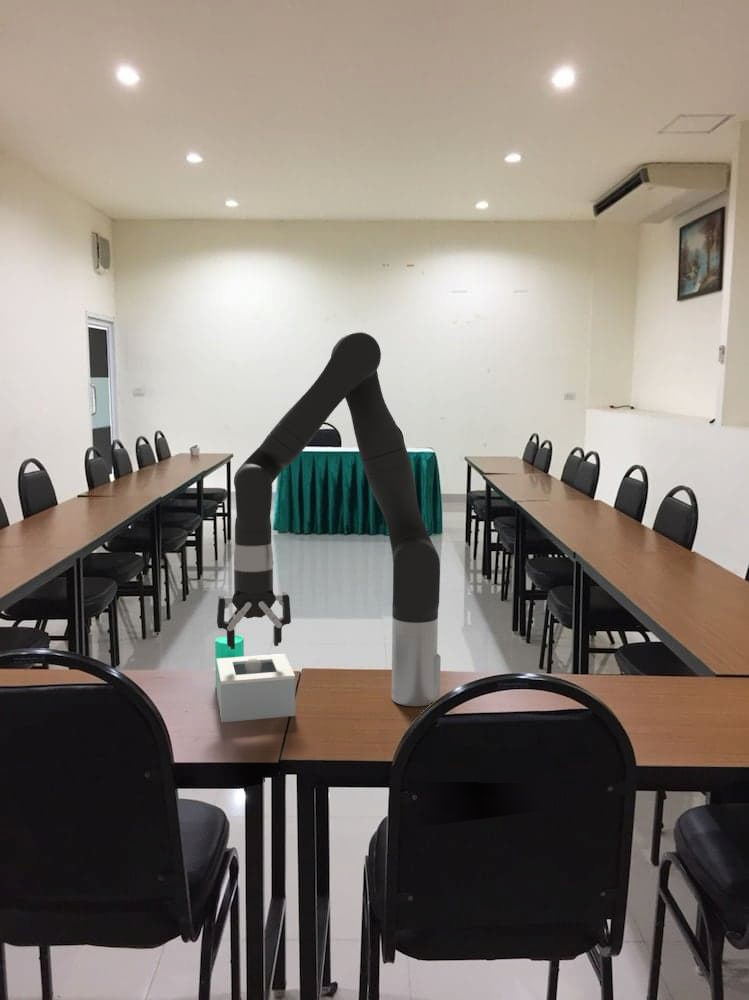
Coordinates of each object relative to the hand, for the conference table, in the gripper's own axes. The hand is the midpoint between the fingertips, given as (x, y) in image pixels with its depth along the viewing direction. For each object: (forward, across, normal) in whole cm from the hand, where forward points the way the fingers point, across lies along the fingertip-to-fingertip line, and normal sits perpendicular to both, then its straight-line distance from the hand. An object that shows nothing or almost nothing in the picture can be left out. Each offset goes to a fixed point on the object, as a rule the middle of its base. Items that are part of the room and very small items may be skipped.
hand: (254, 646), depth 153 cm
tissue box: (+12, 0, 0) cm, 12 cm away
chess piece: (+12, 0, 0) cm, 12 cm away
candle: (+12, +4, -12) cm, 18 cm away
